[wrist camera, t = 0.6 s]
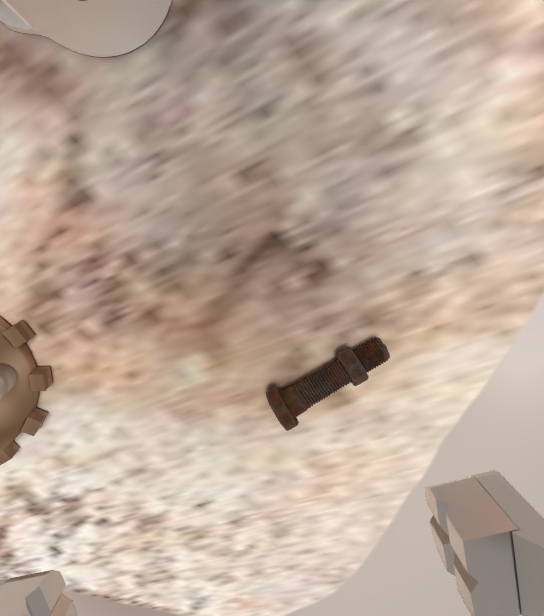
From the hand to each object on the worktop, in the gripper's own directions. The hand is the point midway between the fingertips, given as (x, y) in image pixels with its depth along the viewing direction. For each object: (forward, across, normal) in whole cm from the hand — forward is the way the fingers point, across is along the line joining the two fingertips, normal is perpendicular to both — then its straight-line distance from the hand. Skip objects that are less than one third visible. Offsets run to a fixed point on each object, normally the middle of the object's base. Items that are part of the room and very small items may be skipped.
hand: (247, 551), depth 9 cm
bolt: (+41, -6, +13) cm, 43 cm away
